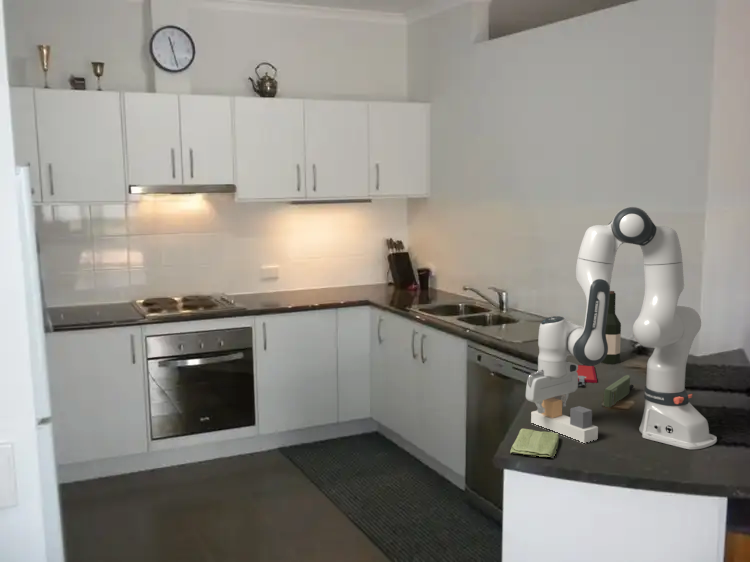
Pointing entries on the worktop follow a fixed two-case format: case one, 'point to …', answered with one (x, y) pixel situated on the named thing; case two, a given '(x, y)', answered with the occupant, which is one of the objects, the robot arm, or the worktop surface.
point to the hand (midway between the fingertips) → (551, 409)
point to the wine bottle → (612, 333)
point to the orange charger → (552, 407)
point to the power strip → (565, 427)
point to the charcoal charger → (581, 417)
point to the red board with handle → (586, 375)
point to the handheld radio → (617, 391)
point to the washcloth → (535, 443)
